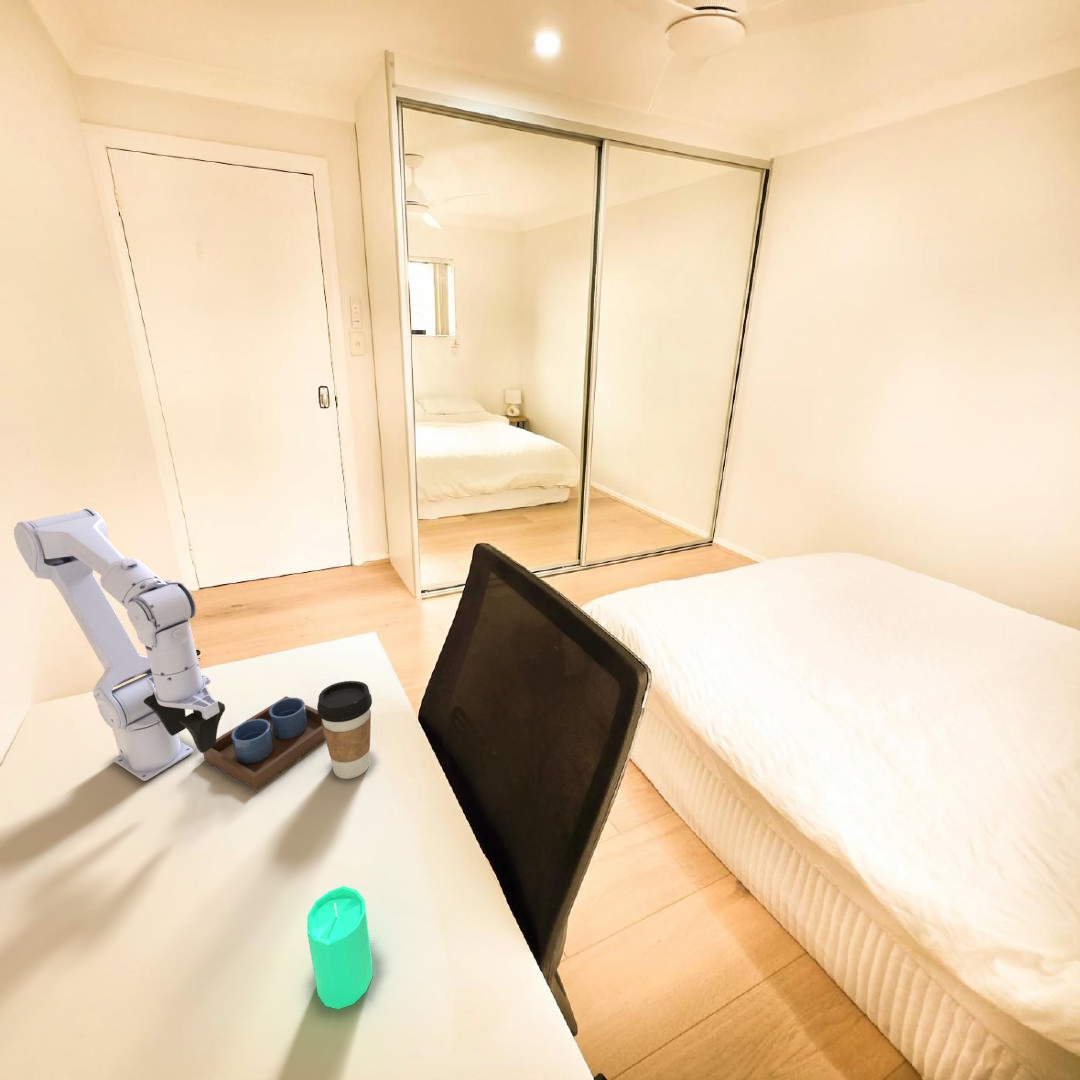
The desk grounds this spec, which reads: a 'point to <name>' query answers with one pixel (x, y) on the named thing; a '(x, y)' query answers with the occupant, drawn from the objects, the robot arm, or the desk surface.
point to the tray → (278, 758)
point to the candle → (340, 947)
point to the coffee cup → (347, 726)
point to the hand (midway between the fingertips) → (192, 739)
